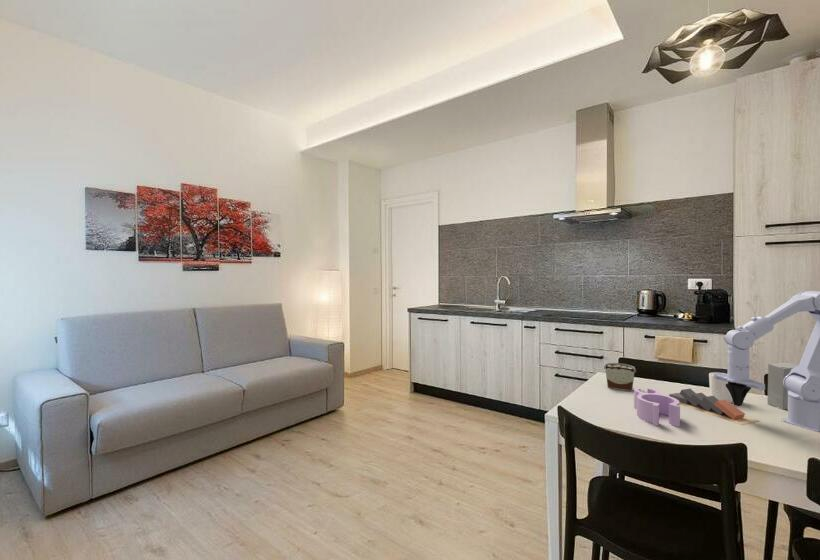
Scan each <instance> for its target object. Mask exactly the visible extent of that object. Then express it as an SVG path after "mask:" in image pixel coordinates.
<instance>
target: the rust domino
mask: <svg viewBox="0 0 820 560" xmlns="http://www.w3.org/2000/svg"><path fill="white" fill-rule="evenodd" d="M714 405H715V406H716V407H718V408H719V409H720V410H721V411H723V412H724V413H725V414H727V415H728V416H729V417H731V418H732V419H733V420H735V419H740V418H743V417H744V416H745V415H746V413H745V412H743V411H742V410H741V409H740V408H738V406H735V405H734V404H732V402H731V403H730V402H728V401H727V400H726V399H725V400H720V401H716V403H715V404H714Z"/></svg>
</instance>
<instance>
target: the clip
mask: <svg viewBox="0 0 820 560" xmlns="http://www.w3.org/2000/svg"><path fill="white" fill-rule="evenodd" d="M646 391H647V392H643V391H641V387H635V388H633V408H634V409H635V410H636V409H637V410H636V416H638V417H639V418H638V417H637V418H638V419H639V420H641V421H644V420H645V421H644V422H646V421H648V422H647V423H650V422H652V423H651V424H652V426H654V425H658V426H659V425H660V414H662V415H666V416H668V423H669V425H670V424H671V426H673V427H675V428H680V427H681V405H680V404H679V400H677V399H675V398H673V397H670V396H669V395H666V394H663V393H661V391H659V390H658V389H654V388H650V387H648V388H647V390H646Z"/></svg>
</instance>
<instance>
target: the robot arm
mask: <svg viewBox="0 0 820 560" xmlns="http://www.w3.org/2000/svg"><path fill="white" fill-rule="evenodd" d="M800 312H808V313H809V314H810V315H811V316H812V318H814V320H815V321H816V322H815V324H814V327H813V329H812V332H811V334H810V337H809V339H808V342H807V344H806V346H805V349H804V351H803V354H802V356H801V359H800V361H799V364H797V365H798V366H797V367H795V368H793V369H791V372H790V373H789V374H788V375H787V376H786V377H785V378H784V380H783V385H784V387H785V388H786V389H787V390H788V409H787V418H781V419H780V421H781V422H783V423H787V424H790V425H794V426H797V427H800V428H804V429H806V430H811V431H814V432H817V433H818V432H820V290H811V289H805V290H801V291H800V292H799V293H796V294H795V295H792V296H791V297H790V299H789V300H788V301H786V302H784V303H783V304H781V305H779V307H777V308H775V309H774V310H773V311H771V312H770V313H768V314H767V315H765V316H760V315H759V316H756V317H755V316H752V317H751V318H750V319H749V321H748V322H746V323H744V324H742V325H739V326H737V327H736V328H737V329H731V330H729V331H727V333H726V334H725V336H724V337H723V341H724V343H726V345H727V374H728V375H725V374H726V373H725V374H720V373H721V372H715V374H714V379H716V380H718V379H719V380H723V381H727V382H728V384H726V387H727V389H728V390H729V392H730V394H731V397H732V400H733V402H732V403H733V405H734V406H735V407H742V406H743V405H744V404H743V403H744V402H745V401H744V400H745V399H746V397H747V394H748V393H749V392H750V390H751V389H755V390H758V391H765V390H766V383H762V382H759V381H756V380H753V379H750V348H752V347H753V346H754V344H755V341H757V340H759V339H761V338H762V337H764V336H765V335H767V334H769V333H770V332H772V331H773V330H774V326H775V325H776V324H778V323H780V322H782V321H784V320H786V319H788V318H790V317H791V316H793V315H795V314H797V313H800Z"/></svg>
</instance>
